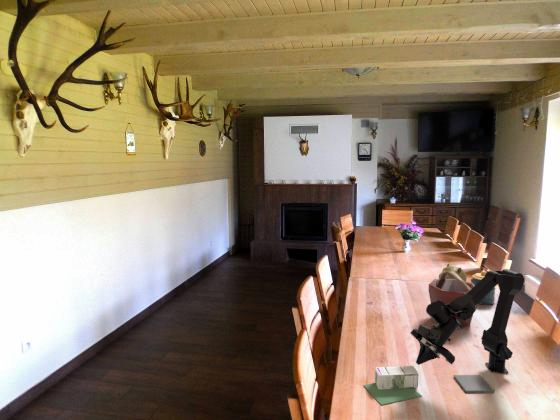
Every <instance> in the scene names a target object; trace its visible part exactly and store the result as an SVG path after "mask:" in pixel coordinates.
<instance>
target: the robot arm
mask: <svg viewBox="0 0 560 420" xmlns="http://www.w3.org/2000/svg"><path fill="white" fill-rule="evenodd" d="M525 279H526V278H525V276H524V275H523V274H522V273H520V272H518V271H514V270H511V269H508V268H504V269H502V270H489V271H486V275H485V276H484V277H483V278H482V279H481V280H480V281H479V282H478V283H477V284H476V285H475V286H474V287H473V288H472V289H471V290H470V291H469V292H468V293H467V294H465V295H464V296H461V297H458V298H456V299H455V300H453V301H452V302H451V303H449V304H444V303H443V302H442V301H441V300H438V301H437V302H432V303H431V302H430V303H429V304H427V306H426V309H425V312H426V314H427V315H428V316H429V317H430V318H431V319H432V320H433V321H434V322H435V323H436V324H437V325H432V326H431V327H429V326H426V325H423V324H419V326H418V327H417V328H415V329H414V328H413V329H412V330H411V331H410V333H409V334H411V336H412V337H413V338H415V340H417V341H418V343H419V352H418V354H417V358H416V361H415V364H417V365H422V364H425V363H426V362H429V361H432V360H436V359H440V358H441V357H440V356H442V357H444V359H445V361H446V363H449V364H450V365H453V364H454V363H455V361H456V356H455V355H454V354H453V353H452V352H451V351H450V350H449V349H447V348H446V347H444V346H445V344H446V343H447V342H448V343H450V342H451V341H452V339H451V337H452V336H453V334H454V333H455V331H456V330H457V329H460V330H463V329H464V327H463V326H462V321H460V320H457V319H456V318H455V317H457V318H459V319H461V320H468V319H470V317H471V316H472V315H473V316H474V313H475V312H476V309H477V305H479V304H478V303H479V302H480V301H481V300H482V299H483V298H484V297H485V296H486V295H487V294H488V293H489V292H490V291H491V290H492V289H493V288H494V287H495V288H496V286H498V289H499V295H498V299H497V302H496V306H495V309H494V310H495V311H494V314H493V318H492V321H491V325H490V327H489V328H488V329H484V330H483V331H482V336H481V338H480V340H481V344H482V346H483V350H484V351H487V352H488V362H484V363H485V366H486V368H488V371H489V372H490V373H498V374H509V371H508V369H507V367H506V361H508V360H510V359H511V358H512V357H513V354H514V353H513V351H512V350H511V349H510V348H509V347H508V342H509V341H508V339H509V338H508V336H507V333H506V329H507V325H508V323H509V319H510V315H511V311H512V308H513V303H514V301H515V296H516V295H517V294H518V293H520V292H521V290H522V288H523V287H524V284H525ZM451 315H453V316H455V317H453V316H451Z"/></svg>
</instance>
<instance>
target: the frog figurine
mask: <svg viewBox="0 0 560 420" xmlns="http://www.w3.org/2000/svg"><path fill="white" fill-rule="evenodd" d="M451 271H453V272H455V273H456V274H457V275H458V276H459V277H460V278H461V279H462V280H463V281H465V282H467V279H468V278H467V274H466V272H465V271H464V270H463V269H462V267H457V266H454V265H451V264H450V263H447V265H446V266H445V267H443V268H442V272H440V273H439V274H438V279H440V276H441V274H442V273H444V272H451ZM446 279H455V278H454V277H453V276H452V275H451V274H448V275H447V276H446Z"/></svg>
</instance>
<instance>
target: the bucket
mask: <svg viewBox="0 0 560 420" xmlns="http://www.w3.org/2000/svg"><path fill="white" fill-rule="evenodd" d="M441 273H442V272H441ZM448 274H451V275H452V276H453V277H454V278H455V279H446V276H447V275H448ZM474 286H475V285H474V284H473V283H471V282H469V281H466V282H465V281H463V280H462V279H461V278H460V277H459V276H458V275H457V274H456V273H455V272H453V271H451V272H444V273H442V274H441V276H440V279H439V278H434V279H433V280H432V281H431V282H429V283H428V295H429V302H430V304H431V303H432V302H437V301H438V300H441V301H442V302H443V303H444V304H449V303H451V302H452V301H453V300H455V299H456V298H458V297H461V296H464V295H465V294H467V293H468V292H469V291H470V290H471V289H472V288H473V287H474ZM451 316H453V315H451ZM453 317H455V316H453ZM473 317H474V314H473V315H472V316H471V317H470V319H468V320H461V319H459V318H457V317H455V318H456V319H457V320H460V321H462V326H463V328H465V327H468V326H471V323H472V319H473Z"/></svg>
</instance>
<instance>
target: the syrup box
mask: <svg viewBox="0 0 560 420" xmlns="http://www.w3.org/2000/svg"><path fill="white" fill-rule="evenodd" d="M374 383H376V385H377V387H378V389H380V390H382V389H404V388H414V389H417V388H418V387H419V372H418V371H417V369H416V368H415V366H414V365H405V366H402V365H401V366H377V367H374Z"/></svg>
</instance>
